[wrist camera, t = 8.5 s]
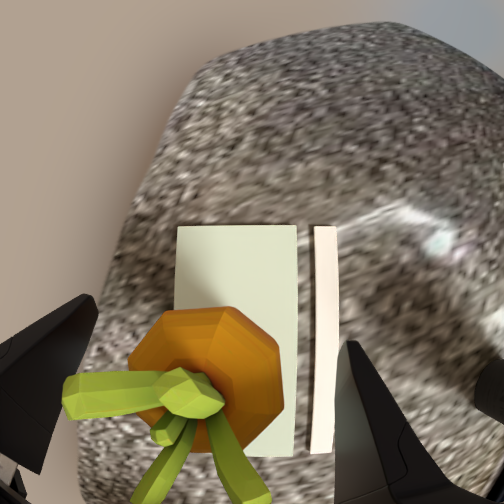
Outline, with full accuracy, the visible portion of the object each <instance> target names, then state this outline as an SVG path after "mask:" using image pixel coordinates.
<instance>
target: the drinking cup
mask: <svg viewBox="0 0 504 504" xmlns="http://www.w3.org/2000/svg"><path fill="white" fill-rule="evenodd" d="M475 404H476V407H477V408H478V410H480V411H481V412H483V413H485V414H486V415H488V416H490V417H491V418H493V419H495V420H497V421H498V422H500V423H502V424H503V425H504V359H502V360H495V361H493V362H491V363H490V364H489V365H488V366H487V367H486V368H485V369H484V371H483V372H482V374H481V376H480V378H479V380H478V382H477V385H476V389H475Z"/></svg>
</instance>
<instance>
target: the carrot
mask: <svg viewBox="0 0 504 504" xmlns="http://www.w3.org/2000/svg"><path fill="white" fill-rule="evenodd" d="M128 367H129V371H110V372H93V373H78V374H75V375H72V376H69V377H67V378H66V380H65V382H64V384H63V392H62V402H61V403H62V405H63V408H64V411H65V413H66V416H67V418H68V420H79V419H91V418H103V417H113V416H120V415H125V414H129V413H134V412H136V414H137V415H138V416H139V417H140V418H141V419H142V420H143V421H144V422H146V423H147V424H148V425H149V426H150V427H151V429H150V435H151V439H152V440H153V441H154V442H155V443H156V444H157V445H160V446H163V447H164V448H163V450H162V451H161V453H160V454H159V455H158V457H157V458H156V459H155V461H154V462H153V464H152V465H151V466H150V468H149V469H148V470H147V472H146V473H145V474H144V476H143V478H142V479H141V481H140V482H139V484H138V486H137V487H136V489H135V491H134V493H133V495H132V497H131V499H130V502H131V503H132V504H161V503H162V501H163V500H164V499H165V497H166V495H167V493H168V492H169V490H170V488H171V486H172V484H173V483H174V481H175V479H176V477H177V475H178V474H179V472H180V470H181V468H182V466H183V464H184V462H185V460H186V458H187V456H188V454H189V452H191V453H212V454H213V458H214V462H215V466H216V470H217V474H218V476H219V478H220V480H221V482H222V484H223V486H224V488H225V490H226V492H227V494H228V496H229V498H230V500H231V501H232V503H233V504H271V502H272V498H271V493H270V491H269V489H268V488H267V486H266V485H265V483H264V482H263V480H262V479H261V477H260V476H259V475H258V473H257V472H256V470H255V469H254V468H253V466H252V465H251V463H250V462H249V461H248V459H247V457H246V455H245V454H244V452H243V450H244V449H245V448H246V447H247V446H248V445H249V444H250V443H251V442H252V441H253V440H254V439H255V438H257V437H258V436H259V435H260V434H261V433H262V432H263V431H264V430H265V429H266V428H267V427H268V426H269V425H270V424H271V423H272V422H273V421H274V420H275V419H276V418H277V416H278V415H279V414H280V413H281V412H282V411H283V410H284V394H283V382H282V371H281V360H280V349H279V345H278V344H277V342H276V340H275V339H274V338H273V337H272V336H270V335H269V334H268V333H267V332H265V331H264V330H263V329H262V328H260V327H259V326H258V325H257V324H255V323H254V322H253V321H252V320H250V319H249V318H248V317H247V316H246V315H244V314H243V313H242V312H241V311H240V310H238V309H237V308H235V307H231V306H224V307H211V308H197V309H183V310H168V311H165V312H164V313H163V314H162V316H161V317H160V318H159V319H158V321H157V322H156V323H155V324H154V326H153V327H152V328H151V329H150V331H149V332H148V333H147V334H146V336H145V337H144V338H143V339H142V341H141V342H140V343H139V344H138V346H137V347H136V348H135V350H134V351H133V352H132V353H131V355H130V356H129V357H128Z"/></svg>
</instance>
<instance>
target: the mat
mask: <svg viewBox="0 0 504 504" xmlns="http://www.w3.org/2000/svg"><path fill="white" fill-rule="evenodd" d="M224 306H231V307H235V308H237V309H238V310H240V311H241V312H242V313H243V314H244V315H246V316H247V317H248V318H249V319H250V320H252V321H253V322H254V323H255V324H257V325H258V326H259V327H260V328H262V329H263V330H264V331H265V332H267V333H268V334H269V335H270V336H272V337H273V338H274V339H275V340H276V342H277V344H278V345H279V349H280V360H281V371H282V382H283V394H284V410H283V411H282V412H281V413H280V414H279V415H278V416H277V418H276V419H275V420H274V421H273V422H272V423H271V424H270V425H269V426H268V427H267V428H266V429H265V430H264V431H263V432H262V433H261V434H260V435H259V436H258V437H257V438H255V439H254V440H253V441H252V442H251V443H250V444H249V445H248V446H247V447H246V448H245V449H244V450H243V452H244V454H245V455H246V456H256V457H285V456H293V444H294V426H295V405H296V378H297V324H298V287H297V232H296V225H234V226H178V232H177V247H176V265H175V289H174V310H183V309H197V308H211V307H224ZM208 454H212V453H208Z"/></svg>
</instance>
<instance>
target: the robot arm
mask: <svg viewBox="0 0 504 504" xmlns="http://www.w3.org/2000/svg"><path fill="white" fill-rule="evenodd" d="M97 318H98V309H97V306H96V303H95V301H94V298H93V297H92V296H91V295H88V294H81V295H79V296H78V297H76V298H74V299H72V300H71V301H69V302H67V303H66V304H64V305H62V306H61V307H59V308H57V309H56V310H54V311H52V312H51V313H49V314H47V315H46V316H44V317H43V318H41V319H39V320H38V321H36V322H34V323H33V324H31V325H30V326H28V327H26V328H25V329H23V330H22V331H20V332H19V333H17V334H15V335H14V336H13V337H11V338H9V339H8V340H6V341H5V342H3V343H1V344H0V504H31V503H30V502H28V501H27V500H26V496H27V492H26V490H25V487H24V484H23V481H22V478H21V475H20V471H19V470H18V469H17V466H18V464H19V465H21V466H23V467H25V468H27V469H29V470H30V471H32V472H34V473H36V474H38V475H40V473H41V470H42V466H43V463H44V459H45V456H46V453H47V450H48V447H49V443H50V440H51V437H52V434H53V431H54V428H55V425H56V422H57V420H58V417H59V414H60V412H61V409H62V406H63V405H62V403H61V402H62V392H63V384H64V382H65V380H66V378H67V377H69V376H72V375H75V374H76V372H77V369H78V367H79V365H80V363H81V361H82V358H83V356H84V354H85V351H86V349H87V346H88V344H89V341H90V338H91V335H92V332H93V329H94V327H95V324H96V321H97ZM334 411H335V493H334V504H504V502H501V503H497V502H493V501H491V500H488V499H486V498H483V497H481V496H478V495H476V494H474V493H471V492H469V491H467V490H465V489H463V488H460V487H458V486H456V485H455V484H453V483H452V482H451V481H450V480H449V479H448V478H447V477H446V476H445V475H444V474H443V472H442V471H441V469H440V468H439V467H438V465H437V464H436V463H435V461H434V460H433V459H432V457H431V456H430V455H429V453H428V452H427V451H426V449H425V448H424V446H423V445H422V443H421V442H420V441H419V439H418V437H417V436H416V434H415V433H414V431H413V429H412V428H411V426H410V424H409V423H408V422H406V421H407V419H406V418H405V416H404V414H403V413H402V411H401V409H400V408H399V406H398V404H397V403H396V401H395V399H394V398H393V396H392V395H391V393H390V391H389V390H388V388H387V386H386V385H385V383H384V382H383V380H382V378H381V377H380V375H379V374H378V372H377V370H376V369H375V367H374V366H373V364H372V362H371V361H370V359H369V358H368V356H367V355H366V353H365V351H364V350H363V348H362V347H361V345H360V344H359V342H358V341H356V340H345V341H344V343H343V345H342V348H341V350H340V352H339V354H338V357H337V369H336V384H335V397H334Z"/></svg>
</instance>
